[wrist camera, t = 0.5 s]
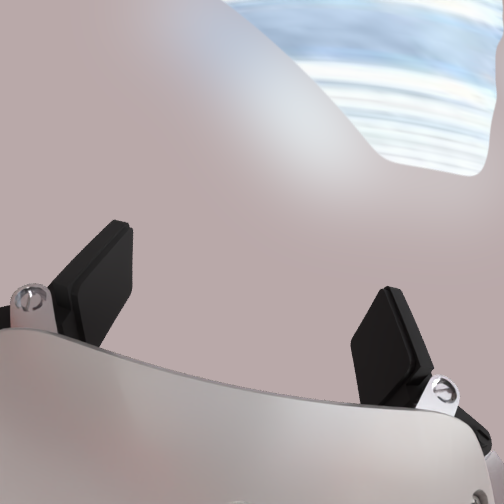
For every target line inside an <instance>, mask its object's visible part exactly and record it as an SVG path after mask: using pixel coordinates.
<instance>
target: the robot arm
mask: <svg viewBox="0 0 504 504" xmlns="http://www.w3.org/2000/svg"><path fill="white" fill-rule="evenodd" d="M132 252H133V229H132V228H130V227H129V224H128V223H126V222H122V221H117V220H113V221H112V222H110V223H109V224H108V225H107V226H106V227H105V228H104V229H103V230H102V231H101V232H100V233H99V234H98V235H97V236H96V237H95V238H94V239H93V240H92V241H91V242H90V243H89V244H88V245H87V246H86V247H85V248H84V249H83V250H82V251H81V252H80V253H79V254H78V255H77V256H76V257H75V258H74V259H73V260H72V261H71V262H70V263H69V264H68V265H67V266H66V267H65V268H64V270H63V271H62V272H61V273H60V274H59V275H58V276H57V277H56V278H55V279H54V280H53V281H52V283H51V284H50V285H49V286H48V287H45V286H43V285H41V284H36V283H35V284H27V285H24V286H22V287H20V288H18V289H17V290H16V291H15V292H14V293H13V295H12V297H11V301H10V305H9V306H4V307H0V504H504V463H503V462H502V460H501V459H500V458H499V456H498V455H497V453H496V452H495V451H492V452H491V451H490V450H491V446H492V443H491V437H490V434H489V432H488V431H487V430H486V429H485V428H484V427H483V426H482V425H481V424H479V423H478V422H477V421H476V420H475V419H473V418H472V417H471V416H470V415H469V414H467V413H466V412H465V411H464V410H463V409H461V408H460V407H459V406H458V404H459V401H460V394H459V390H458V388H457V386H456V385H455V384H454V382H453V381H452V380H450V379H449V378H447V377H446V376H443V375H434V376H432V374H431V371H432V370H433V369H434V366H433V364H432V361H431V359H430V356H429V354H428V351H427V348H426V346H425V344H424V341H423V339H422V336H421V334H420V331H419V329H418V327H417V324H416V322H415V320H414V317H413V315H412V313H411V311H410V308H409V306H408V304H407V302H406V300H405V297H404V295H403V293H402V291H401V290H400V289H397V288H393V287H389V286H386V287H385V288H384V289H381V290H380V291H379V292H378V294H377V296H376V298H375V299H374V301H373V303H372V305H371V307H370V308H369V310H368V312H367V314H366V315H365V317H364V319H363V321H362V322H361V324H360V326H359V327H358V329H357V331H356V333H355V334H354V336H353V338H352V340H351V351H352V357H353V362H354V367H355V373H356V379H357V385H358V391H359V398H360V404H355V403H344V402H335V401H326V400H318V399H311V398H303V397H297V396H290V395H284V394H277V393H272V392H267V391H261V390H256V389H251V388H245V387H240V386H236V385H231V384H226V383H222V382H218V381H213V380H209V379H205V378H200V377H197V376H193V375H188V374H185V373H181V372H177V371H174V370H170V369H166V368H163V367H159V366H156V365H153V364H149V363H146V362H143V361H139V360H136V359H133V358H130V357H127V356H124V355H121V354H117V353H114V352H111V351H108V350H105V349H102V348H99V346H100V345H101V343H102V341H103V340H104V338H105V336H106V334H107V333H108V331H109V329H110V327H111V326H112V324H113V323H114V321H115V319H116V318H117V316H118V314H119V313H120V311H121V309H122V308H123V306H124V304H125V303H126V301H127V299H128V298H129V296H130V294H131V291H132Z"/></svg>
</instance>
